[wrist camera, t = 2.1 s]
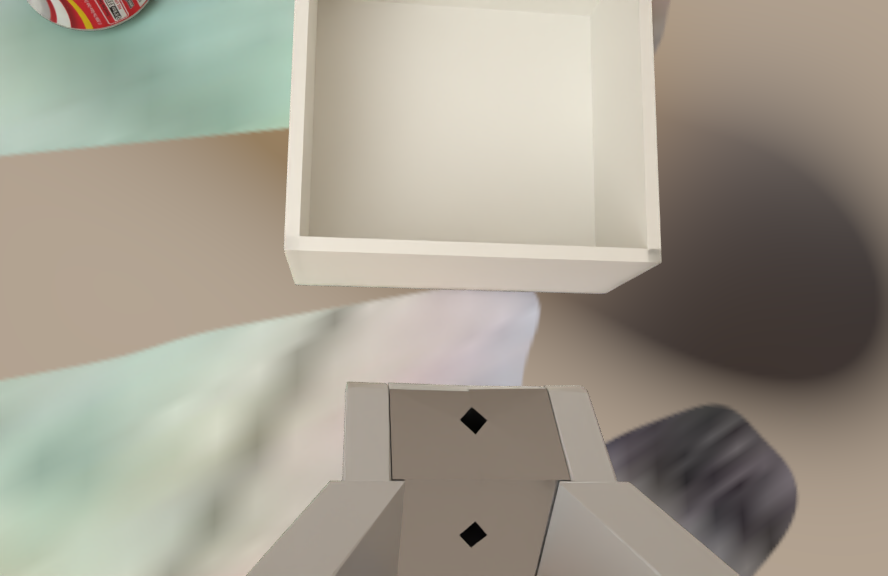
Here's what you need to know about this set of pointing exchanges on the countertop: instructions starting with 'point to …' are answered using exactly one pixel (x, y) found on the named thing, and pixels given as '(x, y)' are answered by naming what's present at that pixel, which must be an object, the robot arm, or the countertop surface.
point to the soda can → (88, 12)
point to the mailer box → (472, 145)
